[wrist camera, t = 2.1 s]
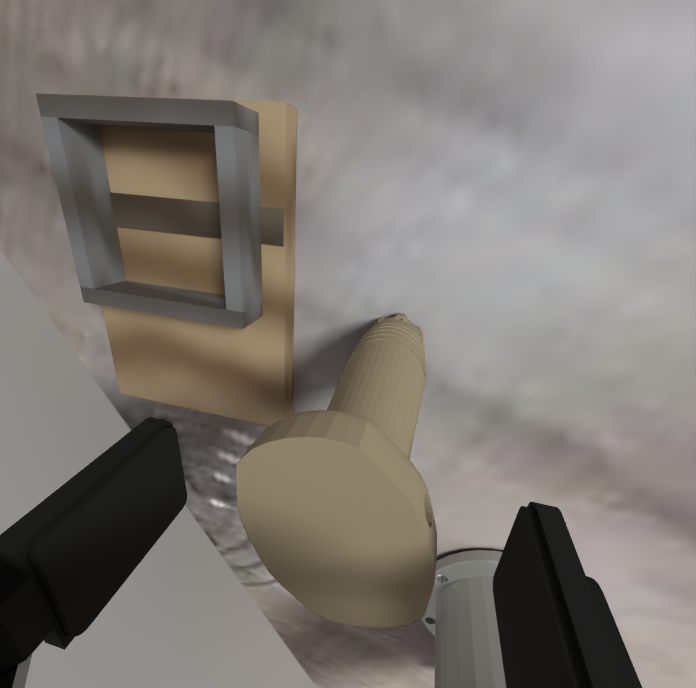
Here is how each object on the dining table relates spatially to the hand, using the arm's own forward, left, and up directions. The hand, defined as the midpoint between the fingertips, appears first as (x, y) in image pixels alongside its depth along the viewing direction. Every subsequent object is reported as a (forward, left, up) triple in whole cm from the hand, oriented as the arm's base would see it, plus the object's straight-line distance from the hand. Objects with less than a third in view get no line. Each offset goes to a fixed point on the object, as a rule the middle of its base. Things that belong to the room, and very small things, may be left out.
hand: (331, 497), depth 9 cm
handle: (-1, 0, -14) cm, 14 cm away
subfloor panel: (+1, +14, -14) cm, 20 cm away
